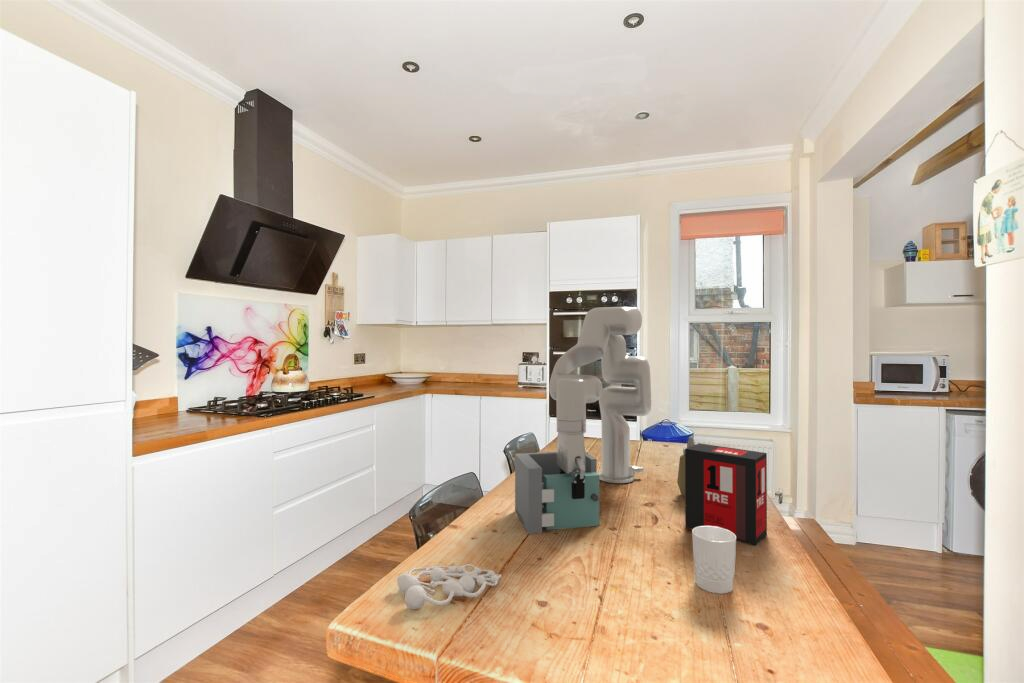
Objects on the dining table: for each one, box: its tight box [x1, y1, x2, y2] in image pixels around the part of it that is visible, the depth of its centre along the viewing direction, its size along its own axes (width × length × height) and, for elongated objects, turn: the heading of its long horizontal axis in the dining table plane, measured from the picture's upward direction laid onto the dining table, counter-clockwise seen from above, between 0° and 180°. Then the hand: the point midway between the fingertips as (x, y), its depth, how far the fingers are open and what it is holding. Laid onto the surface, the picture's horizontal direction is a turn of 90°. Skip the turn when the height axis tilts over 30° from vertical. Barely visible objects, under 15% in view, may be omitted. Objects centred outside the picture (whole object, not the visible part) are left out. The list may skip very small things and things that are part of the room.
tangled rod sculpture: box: [396, 563, 502, 610], centre depth 91 cm, size 19×14×4 cm
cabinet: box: [514, 451, 598, 535], centre depth 126 cm, size 20×16×16 cm
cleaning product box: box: [684, 443, 768, 547], centre depth 118 cm, size 16×9×20 cm, turn 47°
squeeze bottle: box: [676, 436, 696, 498], centre depth 145 cm, size 8×8×18 cm
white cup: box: [691, 526, 737, 595], centre depth 92 cm, size 8×8×10 cm
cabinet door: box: [544, 472, 600, 531], centre depth 121 cm, size 14×4×13 cm, turn 101°
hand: (571, 492), depth 122 cm, fingers open, 9 cm apart
